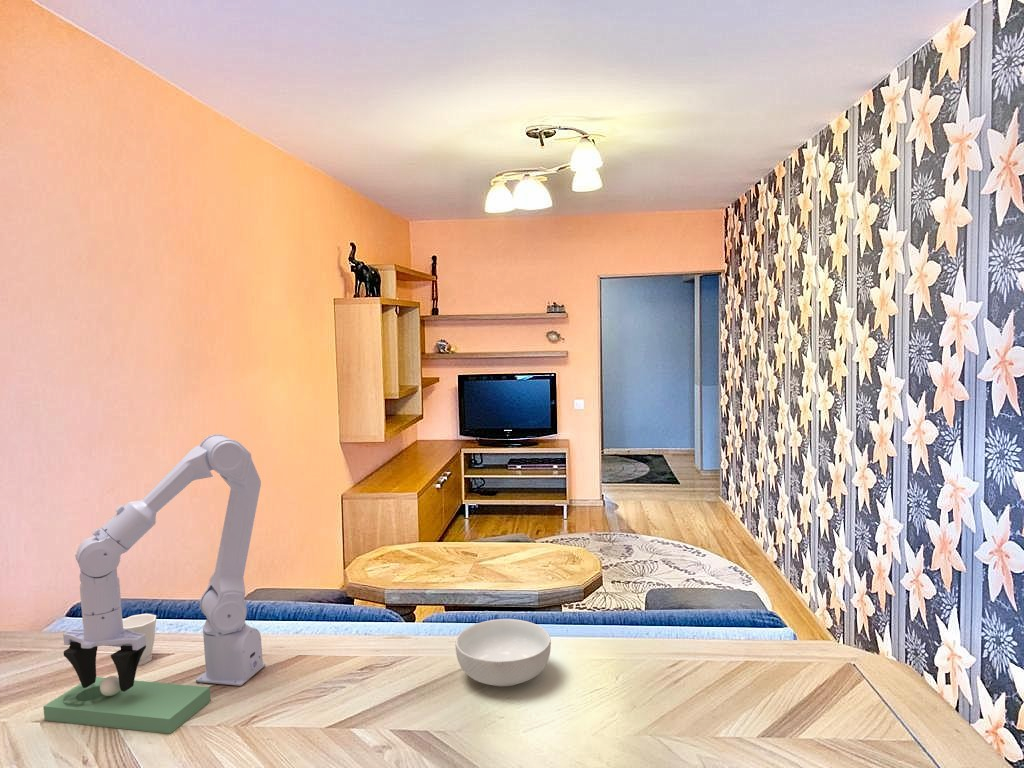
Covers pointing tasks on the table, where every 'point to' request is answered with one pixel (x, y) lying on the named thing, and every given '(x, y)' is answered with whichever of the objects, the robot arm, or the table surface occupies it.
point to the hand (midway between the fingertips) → (108, 686)
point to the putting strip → (130, 706)
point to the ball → (110, 686)
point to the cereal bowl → (503, 651)
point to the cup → (143, 632)
